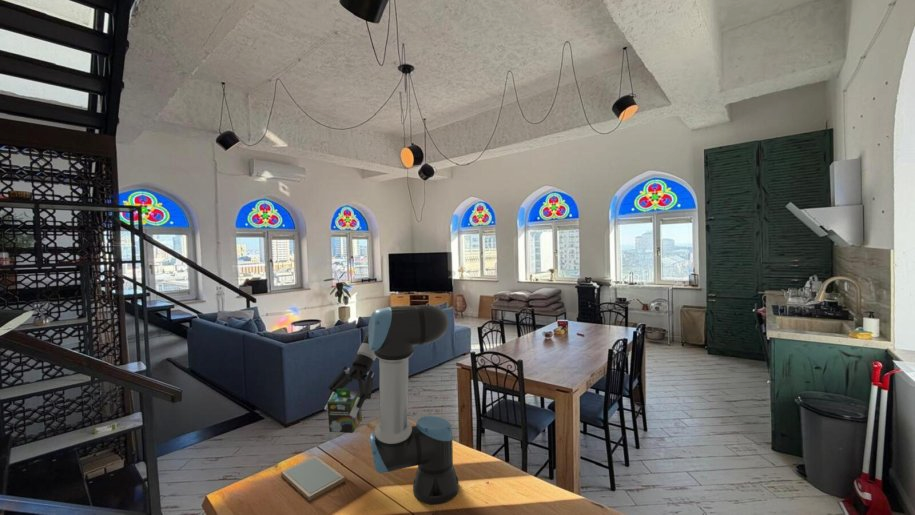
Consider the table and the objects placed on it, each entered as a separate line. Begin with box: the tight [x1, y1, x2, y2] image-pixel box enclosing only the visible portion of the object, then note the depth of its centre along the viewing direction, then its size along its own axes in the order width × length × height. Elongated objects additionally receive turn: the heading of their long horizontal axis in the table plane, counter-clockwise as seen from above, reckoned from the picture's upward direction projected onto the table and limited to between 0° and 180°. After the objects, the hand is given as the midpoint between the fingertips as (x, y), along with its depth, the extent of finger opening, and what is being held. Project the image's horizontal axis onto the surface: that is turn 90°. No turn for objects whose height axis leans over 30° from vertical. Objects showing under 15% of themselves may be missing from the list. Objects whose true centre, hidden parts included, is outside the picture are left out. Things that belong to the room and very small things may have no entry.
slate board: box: [280, 455, 346, 502], centre depth 136 cm, size 20×13×2 cm, turn 48°
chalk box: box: [326, 388, 363, 434], centre depth 141 cm, size 9×9×15 cm
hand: (339, 413), depth 139 cm, fingers closed on chalk box, 11 cm apart
